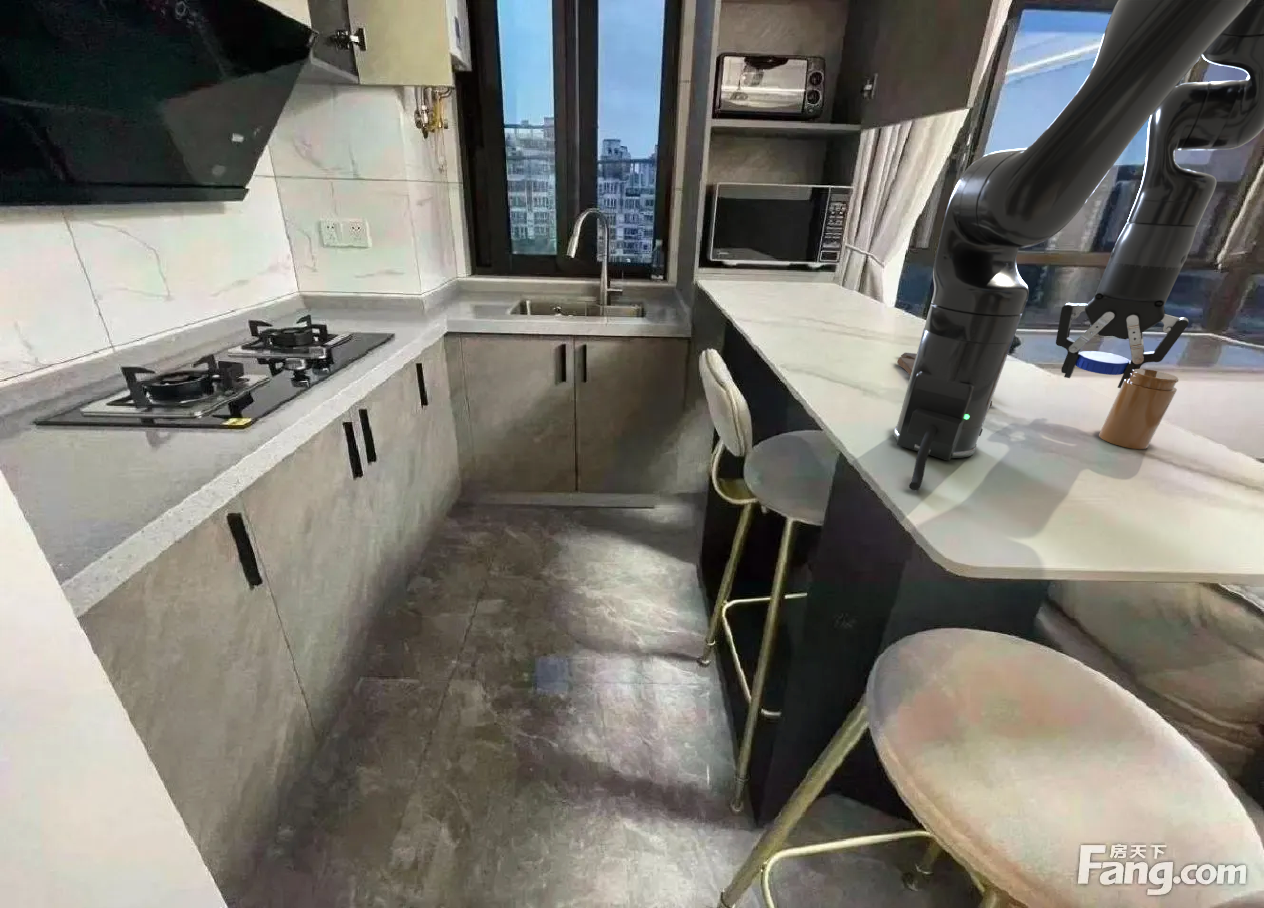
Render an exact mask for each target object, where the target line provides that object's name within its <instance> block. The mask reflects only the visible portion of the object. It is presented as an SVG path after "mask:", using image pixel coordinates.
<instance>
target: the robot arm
mask: <svg viewBox="0 0 1264 908" xmlns="http://www.w3.org/2000/svg"><path fill="white" fill-rule="evenodd" d="M1201 57H1202V58H1203V60H1205V61H1207V62H1208V63H1211V64H1214V65H1218V66H1224V67H1229V68H1235V69H1238V70H1241V71H1244V72H1245V73H1246V74H1247V77H1246V79H1245V78H1244V79H1241V80H1239V79H1238V80H1237V79H1236V80H1221V81H1220V80H1219V81H1209V82H1208V81H1199V82H1197V81H1195V82H1185V83H1181V82H1182V80H1183V79H1184V78H1185V76H1186V75H1187V74H1188V73H1189V72H1190V71H1191V69H1192V68H1193V67H1194V66H1195V64H1196V63H1198V61H1199V60H1200V59H1201ZM1180 83H1181V84H1180ZM1148 120H1149V121H1148ZM1147 121H1148V127H1147V139H1146V155H1145V156H1146V157H1145V164H1144V170H1143V176H1142V180H1141V184H1140V188H1139V190H1138V193H1137V195H1136V199H1135V201H1134V204H1133V206H1132V208H1131V211H1130V214H1129V217H1128V219H1127V220H1126V221H1127V222H1126V223H1125V225H1124V227H1123V229H1122V231H1121V232H1120V234H1119V236H1118V238H1117V240H1116V242H1115V244H1114V247H1113V249H1112V250H1111V251H1110V255H1109V259H1108V261H1107V264H1106V267H1105V269H1104V272H1103V274H1102V276H1101V279H1100V281H1099V284H1098V287H1097V289H1096V292H1095V294H1094V296H1093V298H1092V299H1091V300H1090V301H1088V302H1087V303H1073V302H1067V303H1065V304H1064V305H1063V306H1062V307H1061V309H1060V315H1059V322H1058V327H1057V332H1056V337H1055V345H1056V346H1058V347H1062V348H1063V349H1065V350H1066V351H1067V354H1066V356H1065V359H1064V361H1063V364H1062V366H1061V368H1060V370H1061V374H1064V376H1063V377H1064V378H1065V379H1066V378H1067V379H1071V377H1072V375H1073V374H1074V371H1075V368H1076V367H1077V366H1076V365H1075V364H1076V361H1077V359H1078V357H1079V354H1080V352H1081V349H1082V348H1083V347H1084V346H1085V345H1086V344H1087V343H1088V342H1090V341H1091V340H1092V339H1093V338H1094V337H1095V336H1096V335H1098V336H1101V337H1114V338H1116V339H1119V340H1128V345H1129V348H1130V349H1129V350H1130V357H1131V360H1130V359H1129V361H1130V362H1129V363H1128V365H1127V367H1126V370H1125V372H1124V374H1122V375H1121V379H1120V380H1119V382H1118V385H1117V388H1118V389H1120V388H1121V386H1122V384H1123V382H1124V380H1125V379H1127V378H1130V376H1131V375H1130V373H1132V371H1133V370H1134V369H1141V366H1143V365H1145V364H1147V363H1160V362H1162V361H1163V360H1164V358H1165V357H1166V356H1167V355H1168V354H1169V351H1171V349H1172V348H1173V346H1174V345H1175V343H1176V342H1177V341H1178V339H1179V338H1180V336H1182V334H1183V333H1184V331H1186V329H1187V327H1188V326H1189V319H1188V318H1187V317H1184V316H1181V317H1178V316H1173V315H1170V314H1166V310H1165V305H1166V303H1167V301H1168V298H1169V297H1170V294H1171V293H1172V289H1173V287H1174V285H1175V283H1176V281H1177V279H1178V277H1179V275H1180V273H1181V270H1182V268H1183V266H1184V264H1185V262H1186V261H1187V259H1188V255H1189V253H1190V250H1191V248H1192V246H1193V243H1194V240H1195V236H1196V233H1197V230H1198V226H1199V225H1200V223H1201V220H1202V218H1203V217H1204V214H1205V212H1206V209H1207V208H1208V206H1209V203H1210V201H1211V199H1212V196H1213V195H1214V193H1215V190H1216V187H1217V183H1218V182H1217V179H1216V177H1215V176H1214V175H1213V174H1209V173H1207V172H1201V171H1195V170H1191V169H1187V168H1183V167H1181V166H1179V164H1178V163H1177V162H1176V160H1175V151H1228V150H1235V149H1237V148H1240V147H1242V146H1244V145H1245V144H1249V142H1251V141H1252V140H1253V139H1254V138H1256V137H1257V136H1258V135H1259V134H1260V133H1261V132H1262V131H1263V130H1264V0H1117V2H1116V4H1115V6H1114V7H1113V9H1112V11H1111V14H1110V16H1109V19H1108V21H1107V24H1106V27H1105V30H1104V32H1103V35H1102V39H1101V42H1100V46H1099V48H1098V53H1097V55H1096V58H1095V61H1094V63H1093V66H1092V68H1091V70H1090V72H1089V74H1088V76H1087V77H1086V79H1085V81H1084V82H1083V84H1082V85H1081V86H1080V88H1079V90H1078V91H1077V92H1076V94H1075V95H1074V96H1073V97H1072V99H1071V100H1070V101H1069V102H1068V103H1067V105H1066V106H1065V107H1064V108H1063V109H1062V111H1061V112H1060V113H1058V116H1056V117H1055V119H1054V120H1053V122H1052V123H1050V125H1048V127H1047V128H1046V129H1045V130H1044V131H1043V132H1042V134H1040V135H1039V137H1038V138H1037V139H1036V140H1035V141H1034V142H1033V143H1031V144H1030V145H1029V146H1028V147H1024V148H1014V149H1005V150H999V151H994V152H990V153H988V154H985V155H983V156H981V157H980V158H978V159H977V160H975V161H974V162H972V163H971V164H970V165H969V166H968V167H967V168H966V169H965V170H964V171H963V173H962V174H961V175H960V177H959V179H958V180H957V182H956V184H955V185H954V188H953V190H952V191H951V195H950V198H949V200H948V204H947V206H946V210H945V214H944V219H943V223H942V227H941V231H940V235H939V240H938V245H937V249H936V253H935V257H934V263H933V269H932V280H933V293H932V298H931V302H930V306H929V309H928V312H927V317H926V319H925V323H924V327H923V330H922V334H921V337H920V341H919V344H918V348H917V352H916V354H917V355H916V359H915V362H914V366H913V369H912V373H911V376H910V375H909V376H910V377H909V380H908V384H907V388H906V391H905V394H904V397H903V398H904V399H903V402H902V405H901V409H900V413H899V416H898V420H897V424H896V426H895V428H894V432H893V437H894V439H895V440H896V445H897V446H898V447H902V448H906V449H909V450H912V451H915V452H917V455H916V458H915V463H914V469H913V473H912V478H911V481H910V482H909V485H908V486H909V487H908V488H909V489H910V490H911V491H914V492H915V491H918V490H919V489H920V488H921V485H922V483H923V480H924V475H925V469H926V464H927V459H928V456H931V457H935V458H938V459H941V460H944V461H950V460H951V459H961V458H962V459H963V458H967V457H971V456H972V455H974V453H975V451H976V448H977V443H978V441H979V438H980V437H981V435H982V433H983V430H984V429H983V426H984V423H985V420H986V417H987V414H988V412H989V409H990V407H991V406H990V403H991V401H993V397H994V394H995V392H996V388H997V386H998V383H999V380H1000V378H1001V374H1002V372H1003V369H1004V366H1005V363H1006V360H1007V357H1008V355H1009V352H1010V349H1011V347H1012V345H1013V342H1014V341H1013V340H1014V338H1015V335H1016V333H1017V331H1018V327H1019V325H1020V322H1021V319H1022V316H1023V313H1024V311H1025V307H1026V305H1027V302H1028V299H1029V295H1030V288H1029V287H1028V284H1027V283H1026V282H1025V281H1024V280H1023V279H1022V277H1021V275H1020V273H1019V271H1018V267H1017V258H1018V257H1017V256H1018V253H1019V249H1023V248H1030V247H1034V246H1037V245H1039V244H1042V243H1044V242H1046V241H1048V240H1050V239H1051V238H1052V237H1053V236H1056V234H1058V233H1060V232H1061V231H1062V230H1063V229H1064V228H1065V227H1066V226H1067V225H1068V224H1069V223H1070V222H1071V221H1072V220H1073V219H1074V218H1075V216H1076V215H1077V214H1079V211H1080V210H1081V209H1082V208H1083V206H1085V204H1086V203H1087V201H1088V200H1089V199H1090V198H1091V196H1092V195H1093V194H1094V192H1095V190H1097V188H1098V187H1099V186H1100V184H1101V182H1102V181H1103V180H1104V178H1105V177H1106V176H1107V174H1108V173H1109V172H1110V170H1111V169H1112V167H1113V166H1114V165H1115V163H1116V162H1117V161H1118V160H1119V158H1120V157H1121V155H1122V154H1123V152H1125V150H1126V149H1127V147H1128V146H1129V144H1130V143H1131V142H1132V141H1133V139H1134V138H1135V137H1136V135H1137V134H1138V133H1139V131H1140V130H1141V129H1142V128H1143V126H1144V125H1145V124H1146V122H1147ZM1083 312H1085V314H1086V316H1087V319H1088V321H1089V323H1090V326H1089V327H1088V328H1087V329H1086V330H1085V331H1084V332H1083V333H1082V334H1081V335H1079V336H1078V338H1077V339H1076V340H1074V339H1072V338H1070V335H1071V329H1072V322H1073V320H1076V319H1077V318H1079V317H1080V314H1081V313H1083ZM1160 322H1161V323H1162V324H1163V326H1162V332H1163V333H1165V336H1164V337H1163V338H1162V340H1161V341H1160V342H1159V344H1158V345H1157V346H1156V347H1155V349H1154V350H1153V351H1145V345H1144V344H1145V343H1144V333H1145V332H1146V331H1148V330H1149V329H1150V328H1152V327H1154V326H1156V325H1157V324H1159V323H1160ZM989 406H990V407H989Z"/></svg>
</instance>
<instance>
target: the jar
mask: <svg viewBox="0 0 1264 908" xmlns="http://www.w3.org/2000/svg"><path fill="white" fill-rule="evenodd" d="M1130 375H1131V376H1130V378H1127V379H1125V380H1124V382H1123V384H1122V386H1121V388H1119V390H1118V392H1117V395H1116V397H1115V399H1114V401H1113V403H1112V406H1111V408H1110V410H1109V412H1108V413H1107V416H1106V418H1105V420H1104V423H1103V424H1102V427H1101V429H1100V431H1099V433H1098V438H1100V439H1101V440H1103V441H1105V442H1107V443H1110V444H1112V445H1116V446H1119V447H1122V448H1127V449H1133V450H1146V449H1147V448H1149V445H1150V444H1151V442H1152V439H1153V438H1154V436H1155V434H1156V431H1157V430H1158V428H1159V426H1160V424H1161V422H1162V420H1163V418H1164V416H1165V415H1166V413H1167V411H1168V409H1169V407H1170V405H1171V403H1172V400H1174V397H1175V395H1176V393H1177V391H1178V389H1177V388H1176V387H1175V385H1176V384H1177V383H1178V382H1179V377H1177V376H1176V375H1174V374H1171V373H1167V372H1164V371H1160V370H1153V369H1146V368H1140V369H1134V370H1133V371H1132V373H1130Z"/></svg>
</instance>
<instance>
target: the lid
mask: <svg viewBox="0 0 1264 908" xmlns="http://www.w3.org/2000/svg"><path fill="white" fill-rule="evenodd" d="M1129 362H1130V359H1129V358H1127V357H1124V356H1122V355H1120V354H1115V353H1112V352H1111V353H1110V352H1106V351H1096V350H1083V351H1080V354H1079V357H1078V359H1077V361H1076V364H1075V365H1076V366H1075V367H1077V368H1079V369H1081V370H1084V371H1086V372H1090V373H1095V374H1100V375H1107V376H1108V375H1109V376H1122V375H1123V374H1124V372H1125V370H1126V367H1127V365H1128V363H1129Z"/></svg>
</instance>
